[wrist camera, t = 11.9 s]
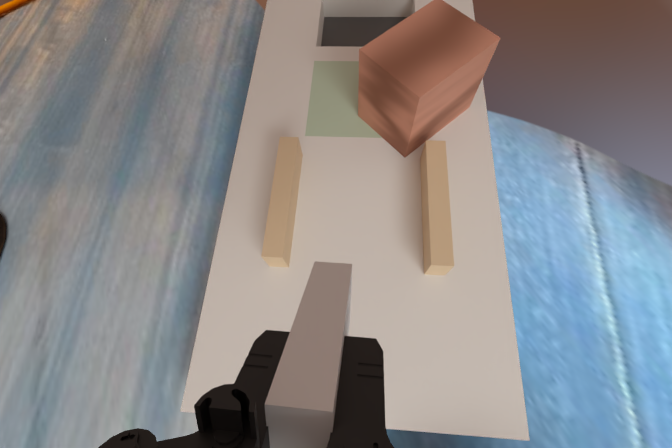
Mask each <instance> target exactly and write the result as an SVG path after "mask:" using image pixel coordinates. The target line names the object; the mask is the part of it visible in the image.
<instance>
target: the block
mask: <svg viewBox="0 0 672 448" xmlns="http://www.w3.org/2000/svg"><path fill="white" fill-rule="evenodd" d="M499 40H500V37H498V36H497V35H495V34H494V33H492V32H491V31H489V30H488V29H486V28H484V27H483V26H481V25H480V24H478V23H477V22H475V21H474V20H472V19H471V18H469V17H468V16H466V15H465V14H463V13H461V12H460V11H458V10H457V9H455V8H454V7H452V6H451V5H449V4H448V3H446V2H445V1H443V0H433V1H431V2H430V3H428V4H427V5H425V6H424V7H422V8H421V9H419V10H418V11H416V12H415V13H413V14H412V15H410V16H409V17H407V18H406V19H404V20H403V21H401V22H400V23H398V24H397V25H395V26H394V27H392V28H391V29H389V30H387V31H386V32H384V33H383V34H381V35H380V36H378V37H377V38H375V39H374V40H372V41H371V42H369V43H368V44H366V45H365V46H363V47H362V48H360V49H359V86H358V116H359V117H360V118H361V119H362V120H363V121H364V122H366V123H367V124H368V125H369V126H370V127H371V128H372V129H373V130H374V131H376V132H377V133H378V134H379V135H380V136H381V137H382V138H383V139H384V140H386V141H387V142H388V143H389V144H390V145H391V146H392V147H393V148H394V149H396V150H397V151H398V152H399V153H400V154H401V155H402V156H403V157H407V156H408V155H409V154H410V153H412V152H413V151H414V150H416V149H417V148H418V147H419V146H421V145H422V144H423V143H424V142H425V141H426V140H428V139H430V138H431V137H432V136H433V135H435V134H436V133H437V132H439V131H440V130H441V129H442V128H444V127H445V126H446V125H448V124H449V123H450V122H451V121H453V120H454V119H455V118H457V117H458V116H459V115H460V114H462V113H463V112H464V111H465V110H467V109H468V108H469V107H470V105H471V103H472V101H473V98H474V96H475V94H476V92H477V89H478V87H479V85H480V83H481V81H482V78H483V76H484V74H485V72H486V69H487V67H488V65H489V63H490V60H491V58H492V56H493V54H494V52H495V49H496V47H497V45H498V43H499Z"/></svg>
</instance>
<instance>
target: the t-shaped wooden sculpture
mask: <svg viewBox="0 0 672 448" xmlns="http://www.w3.org/2000/svg"><path fill="white" fill-rule="evenodd" d="M5 236H6V225H5V221H4V219H3V217H2V216H1V214H0V254H1V251H2V248H3V245H4V242H5Z"/></svg>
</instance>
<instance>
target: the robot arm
mask: <svg viewBox="0 0 672 448" xmlns="http://www.w3.org/2000/svg"><path fill="white" fill-rule="evenodd" d="M351 286H352V264H346V263H332V262H317V261H315V262H314V265H313V268H312V270H311V273H310V276H309V279H308V282H307V285H306V287H305V290H304V293H303V296H302V299H301V302H300V305H299V307H298V310H297V313H296V316H295V319H294V322H293V325H292V327H291V330H290V332H285V331H274V330H266V331H264V332H263V333H262V334H261V335H260V336H259V337H258V338H257V339H256V340H255V341H254V343H253V345H252V347H251V349H250V351H249V354H248V356H247V357H246V360H245V362H244V364H243V367H242V368H241V370H240V372H239V374H238V376H237V378H236V381H235V383H234V384H224V385H221V386H218V387H215V388H213V389H211V390H210V391H208V392H207V393H205V394H204V395H202V396H201V397H200V399H199V400H198V401H197V402H196V404H195V405H194V409H195V414H196V419H197V424H198V429H199V431H197V432H195V433H193V434H190V435H187V436H183V437H178V438H173V439H168V440H163V441H158V442H157V441H156V437H155V435H153V434H152V433H151V432H150V431H149V430H144V429H138V428H137V429H132V430H127V431H124V432H122V433H120V434H117V435H115V436H113V437H111V438H110V439H109V440H107V441H106V442H105V443H104V444H102V445H101V446H100V447H99V448H394V447H393V445H392V444H391V443H390V440H389V438H388V436H387V432H386V426H385V393H384V357H383V350H382V348H381V346H380V344H379V343H378V341H377V339H376V338H364V337H353V336H348V335H349V326H350V310H351Z"/></svg>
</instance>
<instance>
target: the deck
mask: <svg viewBox="0 0 672 448" xmlns="http://www.w3.org/2000/svg"><path fill="white" fill-rule="evenodd" d="M431 1H433V0H267V5H266V9H265V14H264V19H263V24H262V28H261V33H260V38H259V42H258V47H257V52H256V57H255V61H254V66H253V71H252V76H251V80H250V85H249V90H248V94H247V99H246V104H245V109H244V113H243V118H242V123H241V127H240V132H239V137H238V142H237V146H236V151H235V156H234V160H233V165H232V170H231V175H230V179H229V184H228V189H227V193H226V198H225V203H224V208H223V212H222V217H221V222H220V226H219V231H218V236H217V241H216V245H215V250H214V255H213V260H212V264H211V269H210V274H209V278H208V283H207V288H206V293H205V297H204V302H203V307H202V311H201V316H200V321H199V326H198V330H197V335H196V340H195V344H194V349H193V354H192V359H191V363H190V368H189V373H188V377H187V382H186V387H185V392H184V396H183V401H182V406H181V411H180V412H191V413H195V409H194V405H195V404H196V402H197V401H198V400H199V399H200V397H201V396H202V395H204V394H205V393H207V392H208V391H210V390H211V389H213V388H215V387H218V386H221V385H224V384H234V383H235V381H236V378H237V376H238V374H239V372H240V370H241V368H242V367H243V364H244V362H245V360H246V357H247V356H248V354H249V351H250V349H251V347H252V345H253V343H254V341H255V340H256V339H257V338H258V337H259V336H260V335H261V334H262V333H263V332H264V331H266V330H274V331H285V332H290V330H291V327H292V325H293V322H294V319H295V316H296V313H297V310H298V307H299V305H300V302H301V299H302V296H303V293H304V290H305V287H306V285H307V282H308V279H309V276H310V273H311V270H312V268H313V265H314V262H315V261H317V262H332V263H346V264H352V286H351V310H350V326H349V335H348V336H353V337H364V338H376V339H377V341H378V343H379V344H380V346H381V348H382V350H383V357H384V393H385V426H386V429H395V430H407V431H419V432H431V433H443V434H455V435H467V436H479V437H491V438H503V439H515V440H527V441H530V439H529V432H528V424H527V416H526V409H525V401H524V393H523V386H522V378H521V370H520V363H519V355H518V347H517V340H516V332H515V324H514V316H513V309H512V301H511V293H510V286H509V278H508V270H507V263H506V255H505V247H504V240H503V232H502V224H501V217H500V209H499V201H498V194H497V186H496V178H495V171H494V163H493V155H492V147H491V140H490V132H489V124H488V117H487V109H486V101H485V94H484V86H483V78H482V81H481V83H480V85H479V87H478V89H477V92H476V94H475V96H474V98H473V101H472V103H471V105H470V107H469V108H468V109H467V110H465V111H464V112H463V113H462V114H460V115H459V116H458V117H457V118H455V119H454V120H453V121H451V122H450V123H449V124H448V125H446V126H445V127H444V128H442V129H441V130H440V131H439V132H437V133H436V134H435V135H433V136H432V137H431V138H430V139H428V140H426V141H425V142H424V143H423V144H422V145H421V146H419V147H418V148H417V149H416V150H414V151H413V152H412V153H410V154H409V155H408V156H407V157H403V156H402V155H401V154H400V153H399V152H398V151H397V150H396V149H394V148H393V147H392V146H391V145H390V144H389V143H388V142H387V141H386V140H384V139H383V138H382V137H381V136H380V135H379V134H378V133H377V132H376V131H374V130H373V129H372V128H371V127H370V126H369V125H368V124H367V123H366V122H364V121H363V120H362V119H361V118H360V117H359V116H358V86H359V49H360V48H362V47H363V46H365V45H366V44H368V43H369V42H371V41H372V40H374V39H375V38H377V37H378V36H380V35H381V34H383V33H384V32H386V31H387V30H389V29H391V28H392V27H394V26H395V25H397V24H398V23H400V22H401V21H403V20H404V19H406V18H407V17H409V16H410V15H412V14H413V13H415V12H416V11H418V10H419V9H421V8H422V7H424V6H425V5H427V4H428V3H430V2H431ZM443 1H445V2H446V3H448V4H449V5H451V6H452V7H454V8H455V9H457V10H458V11H460V12H461V13H463V14H465V15H466V16H468V17H469V18H471V19H472V20H474V21H475V17H474V10H473V2H472V0H443Z"/></svg>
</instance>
